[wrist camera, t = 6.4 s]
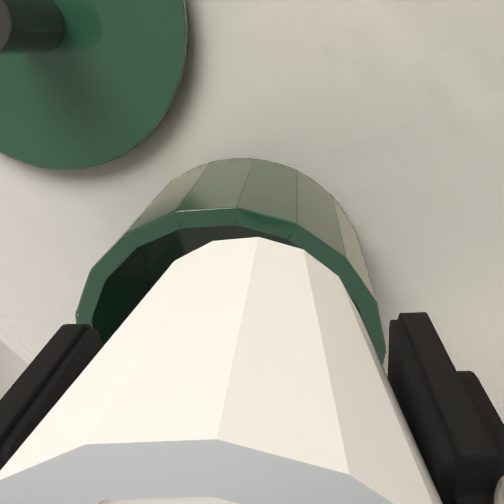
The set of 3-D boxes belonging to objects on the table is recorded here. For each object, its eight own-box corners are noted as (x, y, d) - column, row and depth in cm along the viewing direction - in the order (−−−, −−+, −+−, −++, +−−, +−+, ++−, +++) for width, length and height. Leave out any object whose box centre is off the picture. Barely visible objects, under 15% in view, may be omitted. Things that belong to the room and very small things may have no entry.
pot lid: (-140, -132, 23) (-282, -188, 17) (163, -184, 21) (114, -264, 16) (-34, 174, 29) (-114, 206, 23) (208, 155, 27) (185, 184, 22)
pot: (113, 167, 28) (37, 220, 20) (361, 148, 26) (389, 197, 18) (156, 363, 34) (110, 466, 26) (362, 358, 32) (384, 467, 24)
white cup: (178, 457, 14) (83, 799, 8) (74, 255, 12) (-190, 510, 5) (410, 412, 13) (530, 781, 6) (348, 173, 10) (440, 381, 4)
